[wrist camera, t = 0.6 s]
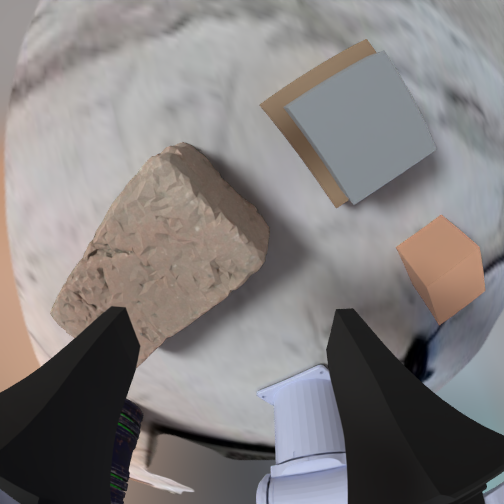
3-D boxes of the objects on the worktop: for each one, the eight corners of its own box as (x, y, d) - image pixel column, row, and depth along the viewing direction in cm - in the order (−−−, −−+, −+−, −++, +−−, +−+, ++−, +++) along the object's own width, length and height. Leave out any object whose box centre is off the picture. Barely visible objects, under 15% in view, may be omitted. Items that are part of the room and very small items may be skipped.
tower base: (408, 138, 15) (428, 145, 13) (326, 194, 17) (336, 208, 15) (351, 46, 12) (366, 38, 10) (259, 104, 15) (259, 104, 12)
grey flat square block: (416, 141, 13) (436, 149, 11) (341, 191, 15) (353, 205, 13) (366, 56, 11) (384, 50, 9) (283, 107, 12) (287, 107, 11)
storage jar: (121, 423, 35) (101, 500, 22) (71, 391, 31) (41, 472, 18) (157, 417, 32) (139, 511, 19) (100, 380, 28) (65, 482, 15)
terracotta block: (453, 255, 19) (485, 290, 15) (412, 284, 20) (439, 325, 16) (440, 214, 17) (479, 247, 13) (395, 246, 19) (426, 287, 14)
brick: (179, 133, 15) (152, 145, 11) (275, 224, 18) (281, 263, 14) (71, 284, 21) (46, 318, 17) (142, 338, 24) (127, 377, 20)
